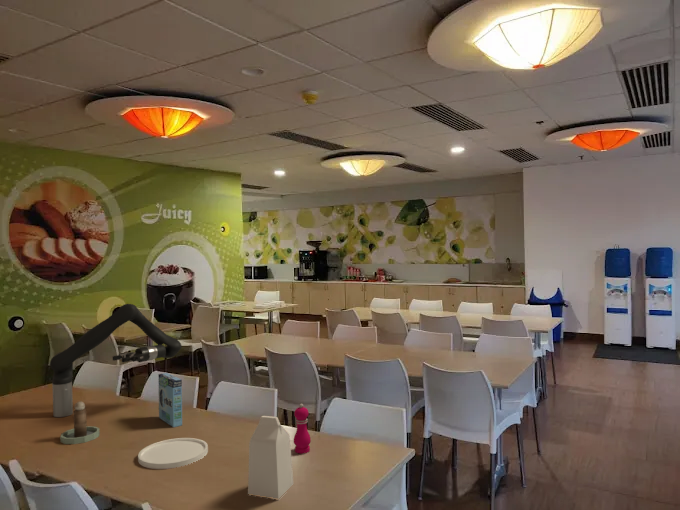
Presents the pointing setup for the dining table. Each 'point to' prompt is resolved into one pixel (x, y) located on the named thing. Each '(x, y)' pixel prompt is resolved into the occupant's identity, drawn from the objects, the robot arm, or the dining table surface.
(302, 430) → the pepper mill
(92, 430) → the round tray
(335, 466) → the dining table surface
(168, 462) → the plate
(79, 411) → the wooden peg figure
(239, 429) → the dining table surface
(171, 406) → the light blue cardboard box
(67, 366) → the robot arm
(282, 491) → the milk
